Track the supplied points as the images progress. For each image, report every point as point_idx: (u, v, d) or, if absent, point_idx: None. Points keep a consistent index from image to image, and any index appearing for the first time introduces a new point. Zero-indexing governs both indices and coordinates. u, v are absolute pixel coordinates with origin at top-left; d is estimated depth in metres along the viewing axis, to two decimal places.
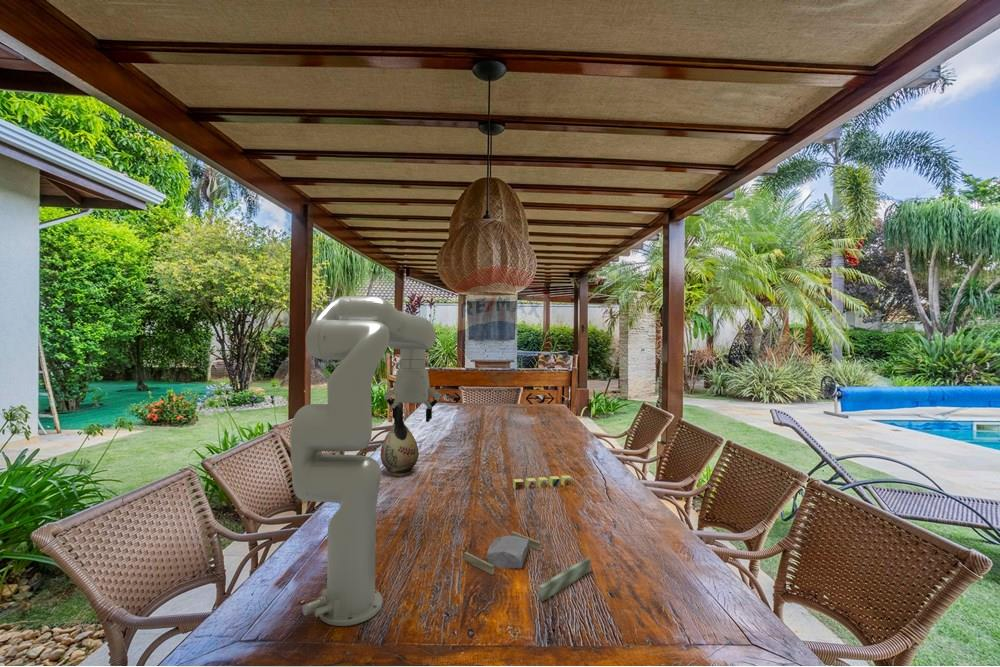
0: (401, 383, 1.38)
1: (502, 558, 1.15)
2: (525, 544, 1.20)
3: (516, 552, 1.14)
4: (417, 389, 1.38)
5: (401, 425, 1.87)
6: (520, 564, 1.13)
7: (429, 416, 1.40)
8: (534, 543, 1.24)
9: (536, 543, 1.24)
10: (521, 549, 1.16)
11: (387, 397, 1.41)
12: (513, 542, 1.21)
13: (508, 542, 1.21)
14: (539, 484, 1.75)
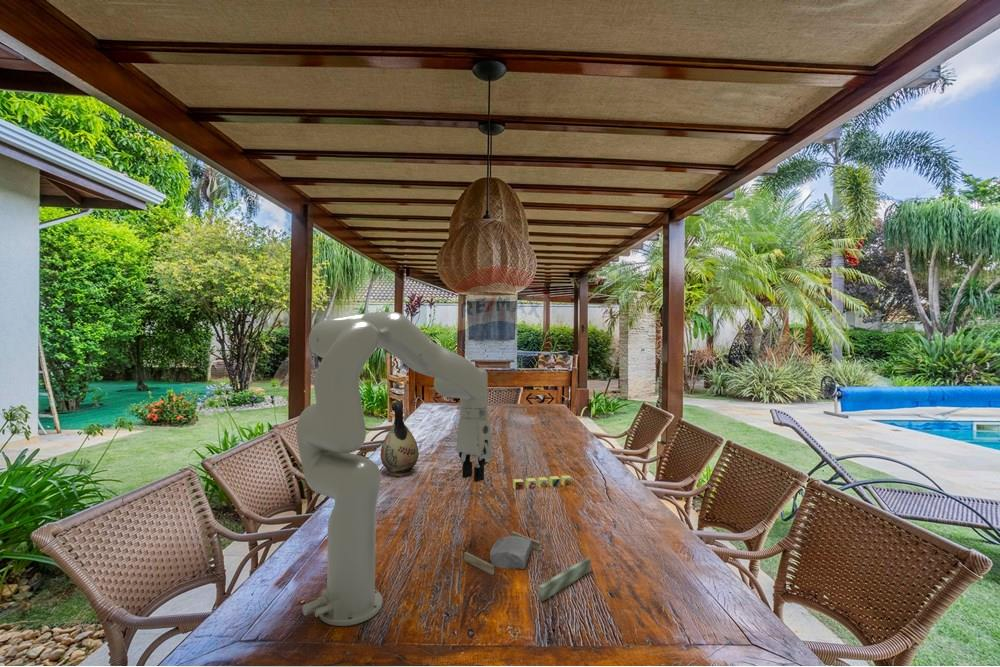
0: None
1: (505, 558, 1.14)
2: (528, 544, 1.20)
3: (519, 552, 1.14)
4: None
5: (401, 425, 1.87)
6: (523, 564, 1.13)
7: None
8: (534, 543, 1.24)
9: (536, 543, 1.24)
10: (524, 549, 1.16)
11: None
12: (516, 542, 1.21)
13: (510, 542, 1.21)
14: (539, 484, 1.75)
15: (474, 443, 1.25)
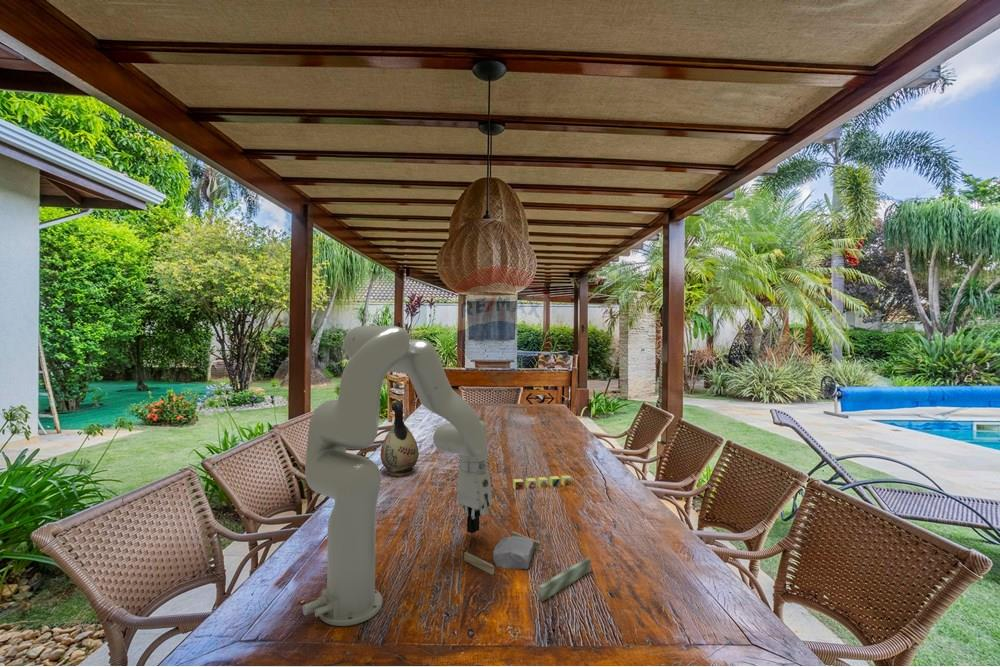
0: None
1: (508, 558, 1.14)
2: (531, 544, 1.20)
3: (522, 552, 1.14)
4: None
5: (401, 425, 1.87)
6: (526, 565, 1.13)
7: None
8: (534, 543, 1.24)
9: (536, 543, 1.24)
10: (527, 550, 1.15)
11: None
12: (519, 543, 1.21)
13: (513, 542, 1.21)
14: (539, 484, 1.75)
15: (474, 497, 1.25)
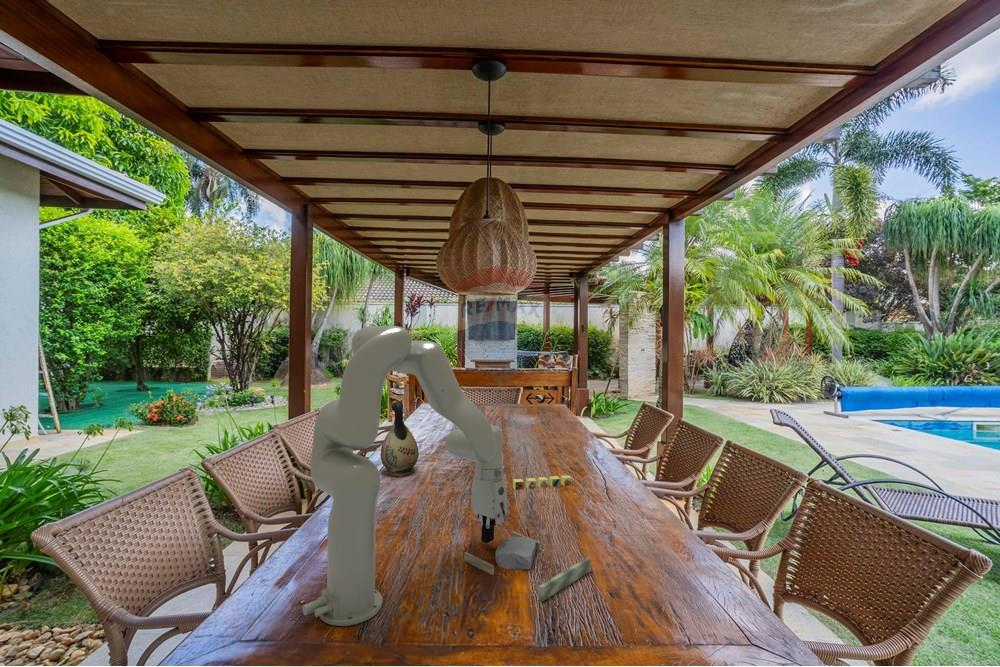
0: None
1: (511, 559, 1.14)
2: (533, 545, 1.20)
3: (524, 553, 1.14)
4: None
5: (401, 425, 1.87)
6: (529, 565, 1.13)
7: None
8: None
9: (536, 543, 1.24)
10: (530, 550, 1.15)
11: None
12: (521, 543, 1.20)
13: (515, 543, 1.20)
14: (539, 484, 1.75)
15: (489, 505, 1.21)
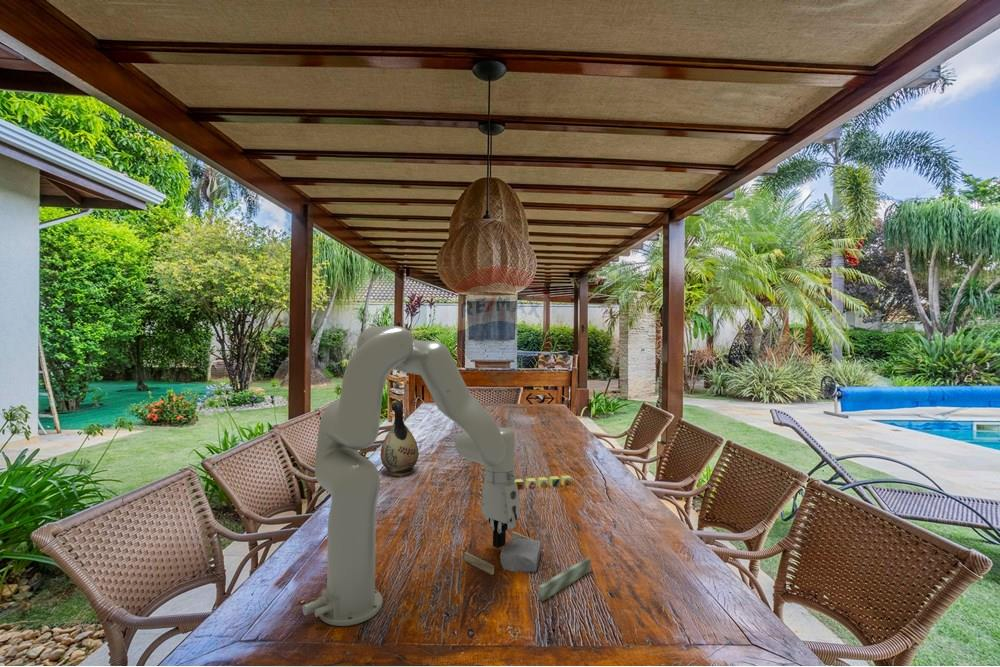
0: None
1: (516, 561, 1.13)
2: (538, 547, 1.19)
3: (530, 555, 1.13)
4: None
5: (401, 425, 1.87)
6: (535, 567, 1.12)
7: None
8: None
9: None
10: (535, 552, 1.14)
11: None
12: (526, 545, 1.19)
13: (520, 545, 1.19)
14: (539, 484, 1.75)
15: (501, 509, 1.18)
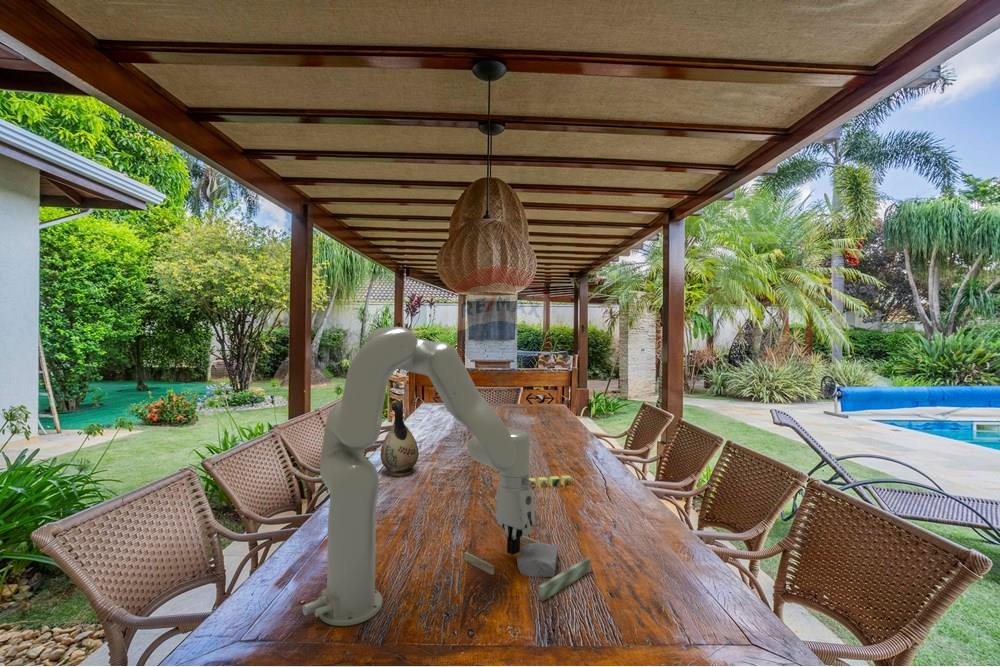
0: None
1: (534, 566, 1.10)
2: (555, 551, 1.17)
3: (548, 560, 1.10)
4: None
5: (401, 425, 1.87)
6: (553, 572, 1.09)
7: None
8: None
9: None
10: (553, 557, 1.12)
11: None
12: (543, 549, 1.17)
13: (537, 549, 1.17)
14: (539, 484, 1.75)
15: (516, 515, 1.14)
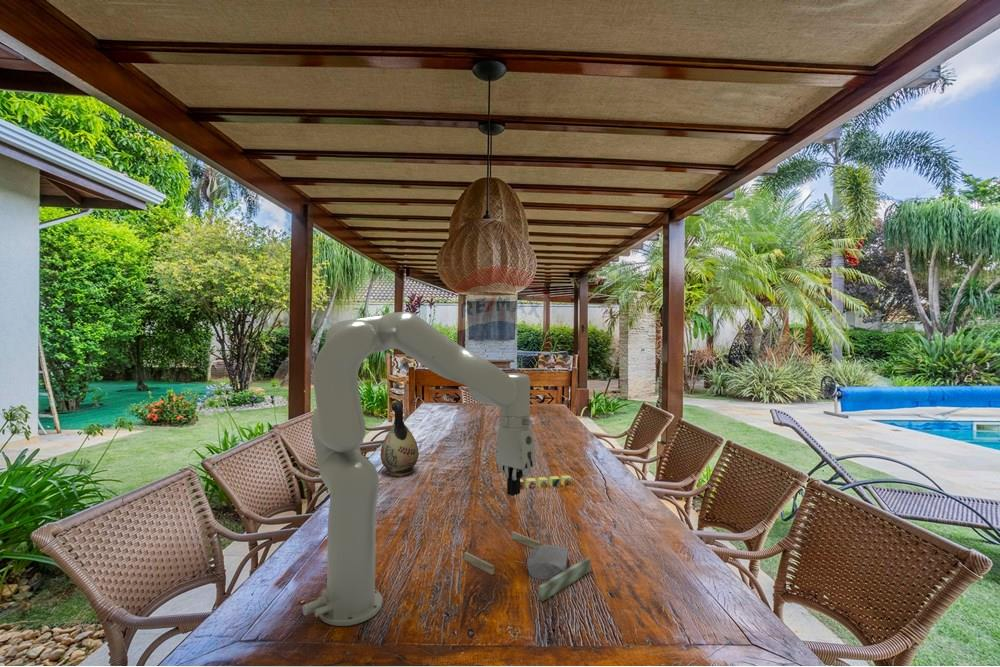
0: None
1: (544, 569, 1.09)
2: (565, 554, 1.15)
3: (559, 562, 1.09)
4: None
5: (401, 425, 1.87)
6: None
7: None
8: (534, 543, 1.24)
9: (536, 543, 1.24)
10: (564, 559, 1.11)
11: None
12: (553, 552, 1.16)
13: (547, 552, 1.16)
14: (539, 484, 1.75)
15: (516, 455, 1.14)
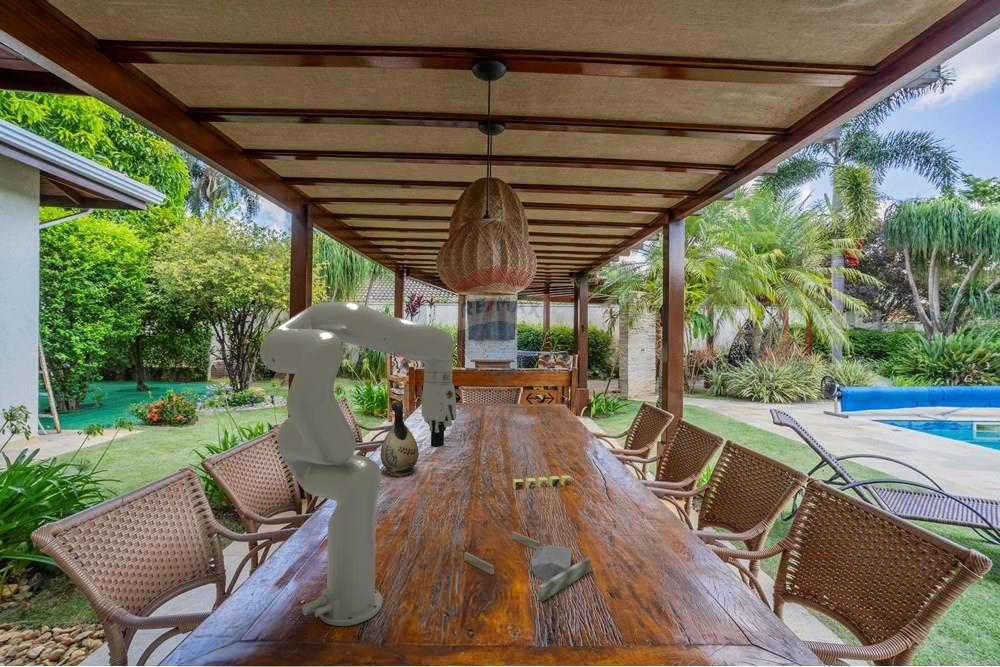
0: None
1: (548, 569, 1.09)
2: (569, 554, 1.15)
3: (563, 563, 1.09)
4: None
5: (401, 425, 1.87)
6: None
7: None
8: (534, 543, 1.24)
9: (536, 543, 1.24)
10: (568, 560, 1.10)
11: None
12: (557, 552, 1.16)
13: (551, 552, 1.16)
14: (539, 484, 1.75)
15: (437, 408, 1.21)
